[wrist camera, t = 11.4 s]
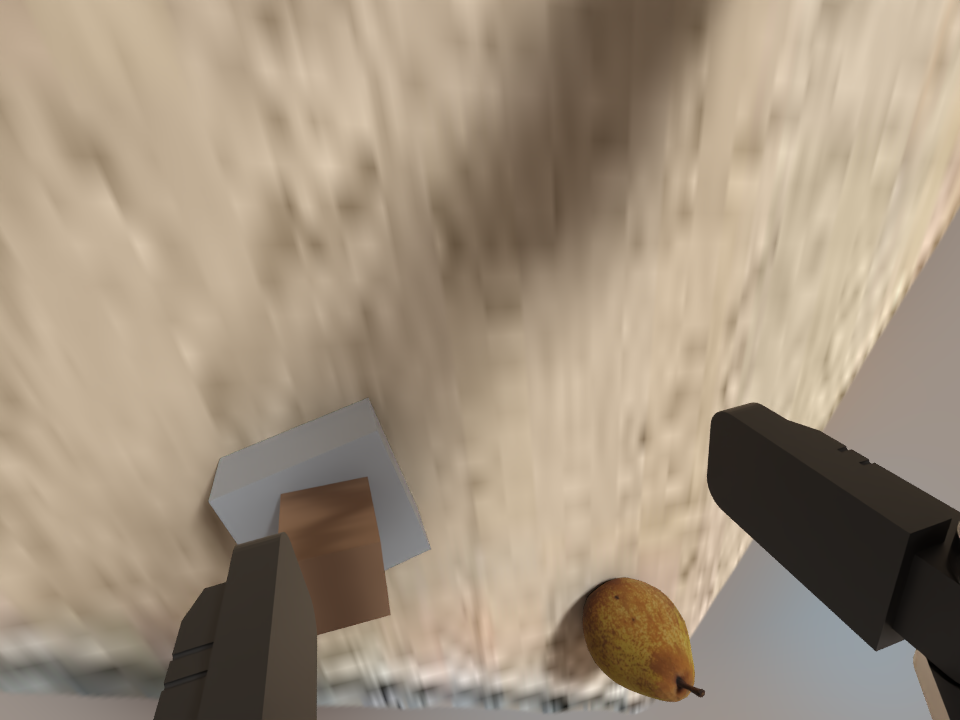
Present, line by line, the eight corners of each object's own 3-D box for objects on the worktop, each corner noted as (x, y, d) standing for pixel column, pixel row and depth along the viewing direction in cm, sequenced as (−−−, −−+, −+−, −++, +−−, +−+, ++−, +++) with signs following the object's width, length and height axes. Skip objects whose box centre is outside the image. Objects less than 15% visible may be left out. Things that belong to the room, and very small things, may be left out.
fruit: (608, 646, 52) (686, 772, 42) (551, 616, 48) (622, 747, 37) (667, 584, 52) (761, 696, 41) (614, 548, 47) (704, 662, 37)
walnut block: (367, 476, 32) (380, 541, 26) (376, 541, 34) (390, 614, 28) (280, 494, 30) (276, 566, 25) (295, 561, 32) (293, 641, 27)
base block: (367, 395, 35) (377, 430, 31) (416, 504, 40) (430, 548, 35) (220, 455, 34) (208, 501, 29) (288, 562, 38) (286, 616, 33)
